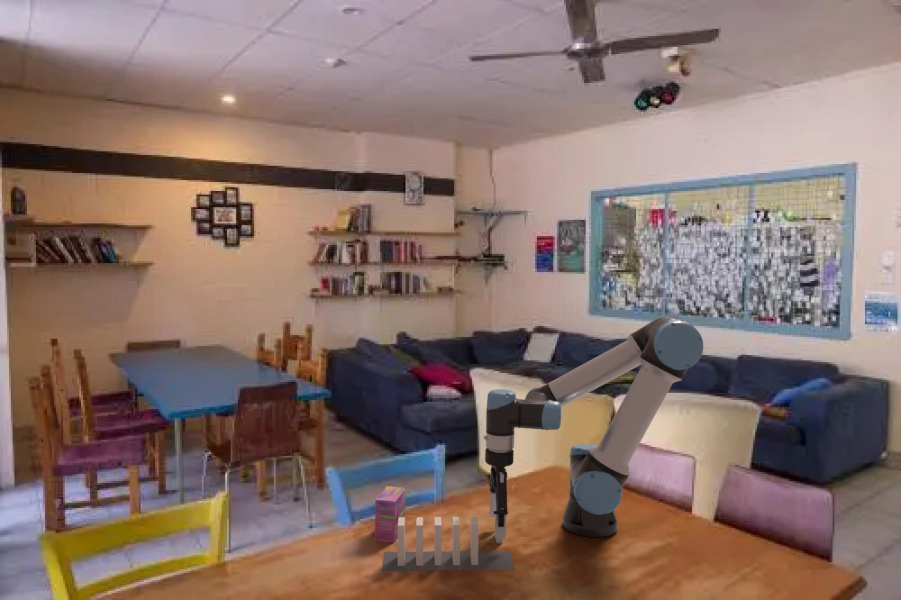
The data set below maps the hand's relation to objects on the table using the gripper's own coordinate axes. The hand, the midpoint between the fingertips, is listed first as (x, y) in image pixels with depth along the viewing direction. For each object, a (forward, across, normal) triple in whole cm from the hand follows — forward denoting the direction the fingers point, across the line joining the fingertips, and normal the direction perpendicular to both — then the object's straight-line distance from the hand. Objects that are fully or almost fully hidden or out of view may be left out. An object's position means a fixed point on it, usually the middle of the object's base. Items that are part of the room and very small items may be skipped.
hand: (497, 526), depth 169 cm
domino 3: (+4, +12, -16) cm, 20 cm away
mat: (+4, +12, -14) cm, 19 cm away
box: (+5, -4, -28) cm, 29 cm away
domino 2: (+4, +12, -20) cm, 24 cm away
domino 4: (+4, +12, -12) cm, 17 cm away
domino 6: (+4, 0, 0) cm, 4 cm away
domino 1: (+4, +12, -25) cm, 28 cm away
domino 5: (+3, +12, -7) cm, 14 cm away
